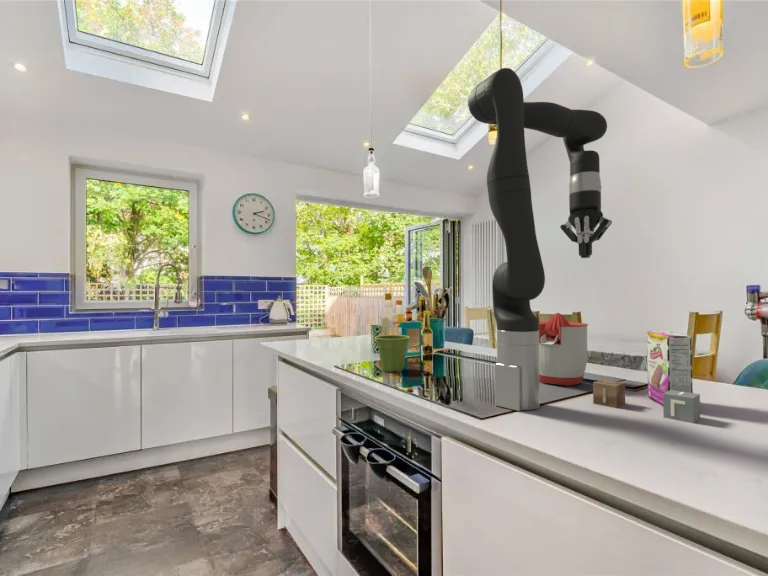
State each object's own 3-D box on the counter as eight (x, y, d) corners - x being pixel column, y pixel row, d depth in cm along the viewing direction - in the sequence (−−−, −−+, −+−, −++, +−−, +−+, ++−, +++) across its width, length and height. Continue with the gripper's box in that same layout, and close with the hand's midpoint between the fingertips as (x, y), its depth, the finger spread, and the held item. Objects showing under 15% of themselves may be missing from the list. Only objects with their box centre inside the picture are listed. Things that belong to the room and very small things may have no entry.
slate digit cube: (693, 423, 80) (692, 397, 80) (663, 418, 84) (663, 393, 84) (700, 418, 83) (699, 393, 83) (671, 413, 87) (670, 389, 87)
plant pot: (380, 366, 144) (379, 334, 144) (413, 368, 141) (412, 335, 141) (370, 372, 132) (370, 338, 133) (405, 374, 129) (405, 339, 129)
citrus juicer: (519, 383, 116) (518, 313, 116) (541, 374, 129) (540, 311, 129) (578, 392, 106) (577, 314, 106) (595, 381, 119) (594, 312, 119)
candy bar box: (646, 397, 100) (645, 330, 100) (669, 398, 99) (668, 330, 99) (668, 410, 89) (667, 335, 89) (694, 411, 88) (693, 335, 88)
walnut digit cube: (616, 408, 91) (615, 385, 91) (593, 404, 95) (592, 381, 95) (625, 404, 94) (625, 382, 94) (602, 400, 98) (602, 378, 98)
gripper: (553, 194, 111) (554, 258, 110) (605, 184, 100) (606, 255, 100) (566, 198, 115) (567, 260, 115) (617, 189, 105) (618, 256, 105)
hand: (585, 257), depth 108 cm, fingers closed
